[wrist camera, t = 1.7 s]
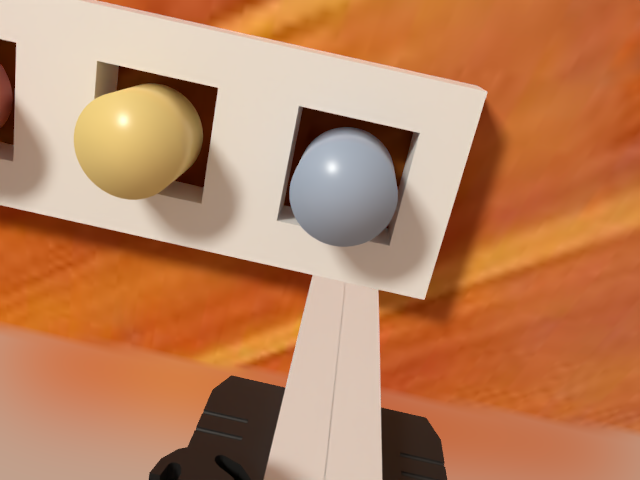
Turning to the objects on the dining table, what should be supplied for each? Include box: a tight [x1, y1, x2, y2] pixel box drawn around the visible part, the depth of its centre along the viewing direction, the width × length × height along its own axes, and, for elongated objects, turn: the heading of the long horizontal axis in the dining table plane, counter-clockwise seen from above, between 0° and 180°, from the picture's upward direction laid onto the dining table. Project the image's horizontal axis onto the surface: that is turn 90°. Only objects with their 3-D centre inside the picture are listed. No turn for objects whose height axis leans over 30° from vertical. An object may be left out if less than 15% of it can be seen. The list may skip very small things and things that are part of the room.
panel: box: [0, 0, 487, 300], centre depth 28 cm, size 28×10×2 cm, turn 78°
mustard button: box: [74, 83, 203, 200], centre depth 26 cm, size 4×4×4 cm
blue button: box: [289, 127, 398, 247], centre depth 26 cm, size 4×4×4 cm
